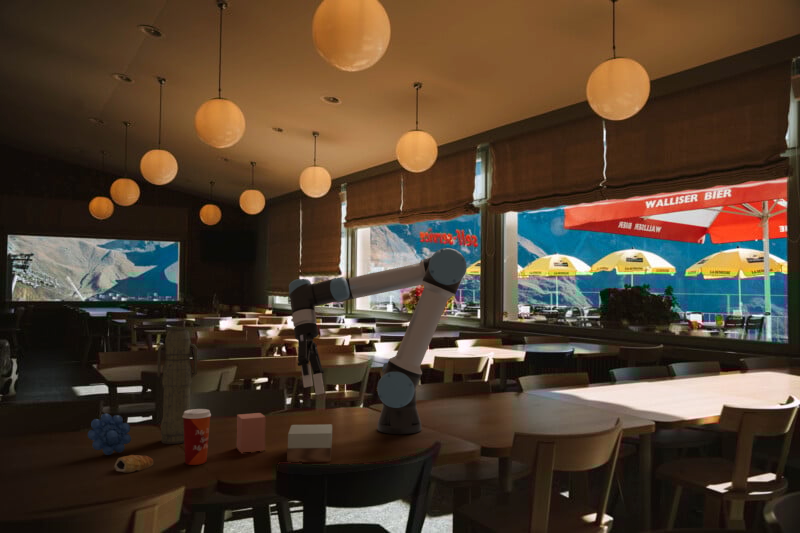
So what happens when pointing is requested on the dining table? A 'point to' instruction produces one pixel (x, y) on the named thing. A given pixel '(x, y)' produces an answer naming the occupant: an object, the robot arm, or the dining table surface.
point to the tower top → (310, 436)
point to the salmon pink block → (251, 432)
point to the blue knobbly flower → (109, 434)
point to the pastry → (133, 463)
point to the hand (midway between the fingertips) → (314, 390)
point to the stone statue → (176, 383)
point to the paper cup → (196, 435)
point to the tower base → (308, 454)
